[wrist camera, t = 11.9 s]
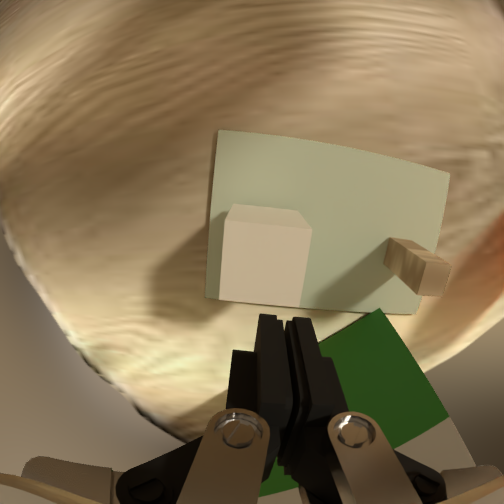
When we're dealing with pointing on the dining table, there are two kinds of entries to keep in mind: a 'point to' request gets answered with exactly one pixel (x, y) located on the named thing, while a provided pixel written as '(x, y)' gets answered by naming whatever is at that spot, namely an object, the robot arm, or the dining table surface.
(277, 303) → the beige foam cube
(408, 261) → the post
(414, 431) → the hardback book
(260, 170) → the mat
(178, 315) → the dining table surface
